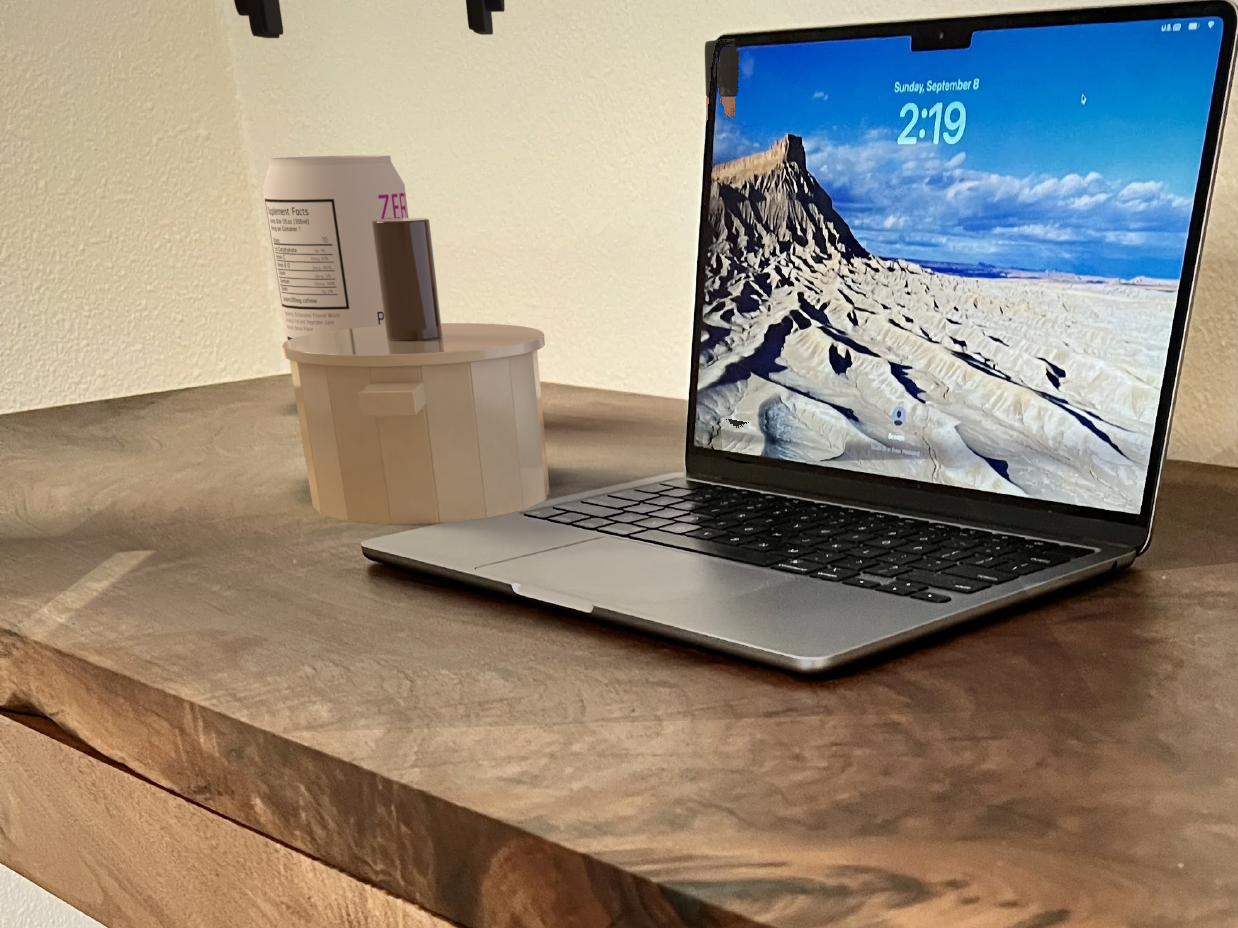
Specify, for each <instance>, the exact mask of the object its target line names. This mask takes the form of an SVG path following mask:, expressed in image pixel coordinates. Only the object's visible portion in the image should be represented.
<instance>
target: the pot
mask: <svg viewBox="0 0 1238 928" xmlns="http://www.w3.org/2000/svg"><path fill="white" fill-rule="evenodd" d="M538 354H539V353H538V350H536V351H533V352H530V353H526V354H522V355H517V356H512V357H506V358H500V359H492V360H484V361H475V362H466V363H454V364H440V365H423V366H398V367H347V366H327V365H315V364H306V363H300V362H296V361H292V360H289V365H290V372H291V378H292V385H293V391H294V398H295V404H296V409H297V417H298V422H299V429H300V435H301V442H302V447H303V454H304V460H305V467H306V472H307V479H308V484H309V491H310V498H311V503H312V504H311V505H312V507H313V509H315V510H316V512H317V513H319V514H320V515H321V516H323V517H328V518H332V519H336V520H341V521H344V522H350V523H364V524H378V525H419V524H421V525H422V524H442V523H443V524H444V523H453V522H454V523H455V522H461V521H469V520H470V521H471V520H479V519H487V518H493V517H498V516H502V515H507V514H511V513H516V512H519V511H524V510H527V509H530V508H531V507H534V506H536V505H538V504H540V503H542V502H545V501H547V498H548V496H549V493H550V479H549V469H548V459H547V458H548V457H547V448H546V447H547V445H546V435H545V434H546V433H545V423H544V414H543V413H544V412H543V401H542V400H543V399H542V389H541V378H540V367H539V366H540V365H539V355H538Z"/></svg>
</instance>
